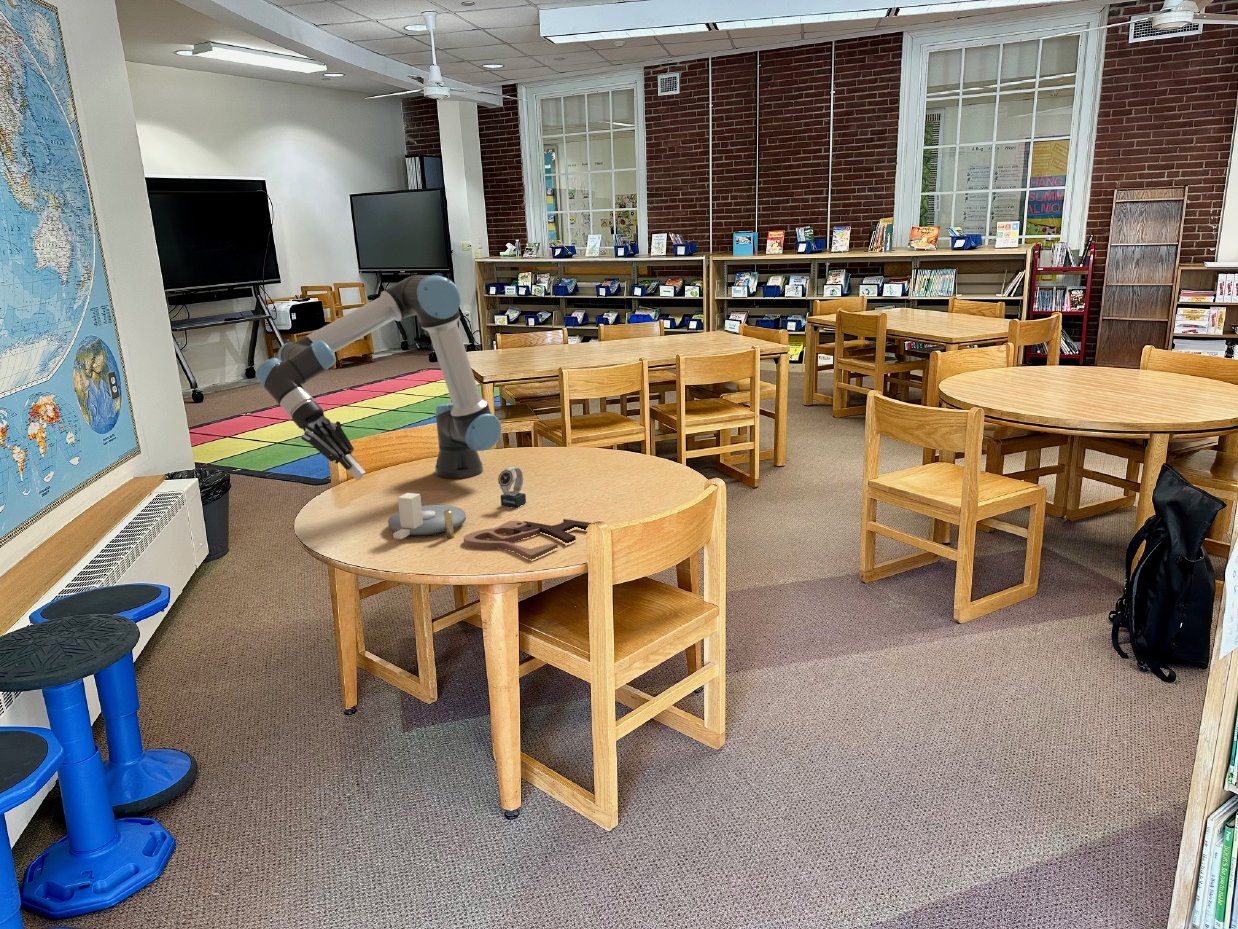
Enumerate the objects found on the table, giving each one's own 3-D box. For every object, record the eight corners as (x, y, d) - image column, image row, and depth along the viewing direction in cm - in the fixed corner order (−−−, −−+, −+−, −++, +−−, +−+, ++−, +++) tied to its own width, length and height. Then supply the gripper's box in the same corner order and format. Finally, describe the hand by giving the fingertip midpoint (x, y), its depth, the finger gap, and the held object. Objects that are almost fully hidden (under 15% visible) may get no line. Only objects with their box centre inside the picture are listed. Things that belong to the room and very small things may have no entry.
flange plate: (416, 506, 234) (413, 474, 232) (479, 512, 227) (477, 480, 225) (364, 534, 213) (360, 500, 211) (432, 542, 206) (429, 506, 204)
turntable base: (424, 513, 233) (423, 510, 232) (470, 521, 225) (470, 517, 225) (383, 532, 219) (383, 528, 219) (432, 540, 212) (432, 536, 212)
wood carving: (603, 532, 215) (537, 515, 230) (602, 524, 215) (537, 508, 229) (525, 566, 195) (458, 545, 209) (524, 558, 194) (457, 537, 209)
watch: (496, 508, 236) (494, 470, 233) (514, 499, 242) (511, 463, 240) (513, 510, 233) (510, 472, 230) (529, 502, 240) (527, 465, 237)
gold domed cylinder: (449, 535, 215) (447, 509, 213) (455, 536, 214) (453, 510, 212) (444, 538, 213) (442, 511, 211) (450, 539, 212) (448, 512, 211)
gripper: (313, 413, 226) (370, 478, 224) (277, 423, 214) (336, 492, 212) (327, 395, 223) (384, 461, 221) (291, 404, 211) (351, 473, 209)
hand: (361, 476), depth 217 cm, fingers closed
